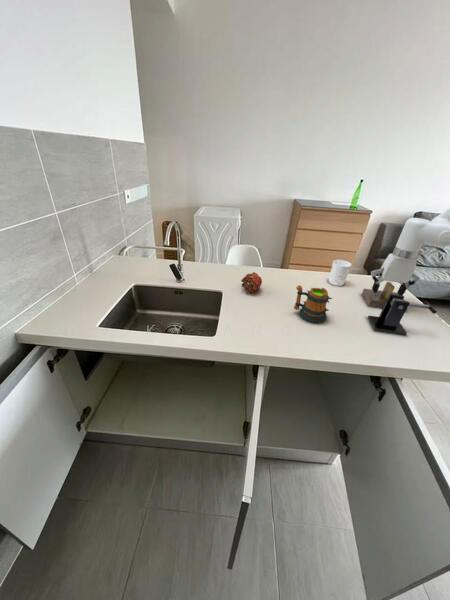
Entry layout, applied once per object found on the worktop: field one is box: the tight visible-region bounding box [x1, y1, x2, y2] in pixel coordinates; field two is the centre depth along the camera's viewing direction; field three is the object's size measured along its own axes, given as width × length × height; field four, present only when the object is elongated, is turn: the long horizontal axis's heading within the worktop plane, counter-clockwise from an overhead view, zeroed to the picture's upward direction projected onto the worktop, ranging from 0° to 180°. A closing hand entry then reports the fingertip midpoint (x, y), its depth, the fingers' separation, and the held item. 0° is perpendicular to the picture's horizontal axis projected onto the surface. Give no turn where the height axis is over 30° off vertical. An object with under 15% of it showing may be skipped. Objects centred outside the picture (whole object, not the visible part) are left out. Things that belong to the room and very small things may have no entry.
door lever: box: [390, 298, 438, 315], centre depth 81 cm, size 12×6×2 cm, turn 79°
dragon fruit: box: [240, 272, 263, 293], centre depth 104 cm, size 8×8×12 cm
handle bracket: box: [367, 294, 411, 336], centre depth 84 cm, size 10×8×12 cm
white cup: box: [328, 259, 353, 287], centre depth 113 cm, size 8×8×10 cm
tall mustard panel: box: [381, 281, 396, 299], centre depth 98 cm, size 5×1×6 cm, turn 169°
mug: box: [293, 285, 333, 325], centre depth 88 cm, size 13×10×12 cm
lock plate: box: [361, 288, 406, 309], centre depth 101 cm, size 14×10×3 cm
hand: (386, 293), depth 99 cm, fingers open, 9 cm apart
